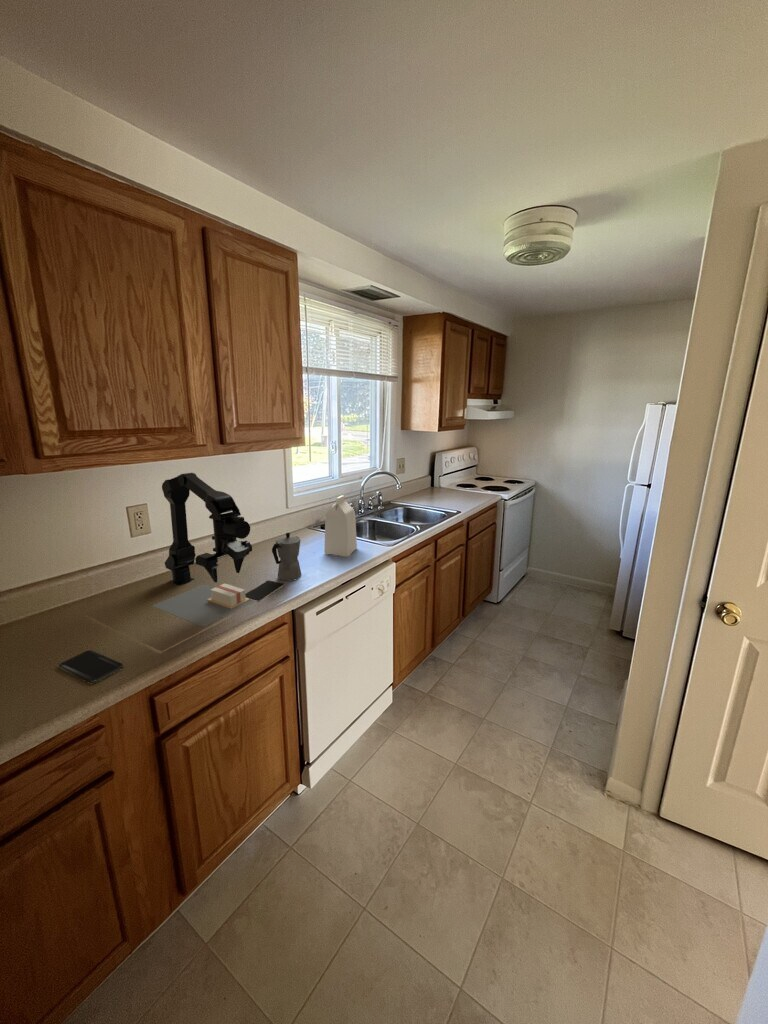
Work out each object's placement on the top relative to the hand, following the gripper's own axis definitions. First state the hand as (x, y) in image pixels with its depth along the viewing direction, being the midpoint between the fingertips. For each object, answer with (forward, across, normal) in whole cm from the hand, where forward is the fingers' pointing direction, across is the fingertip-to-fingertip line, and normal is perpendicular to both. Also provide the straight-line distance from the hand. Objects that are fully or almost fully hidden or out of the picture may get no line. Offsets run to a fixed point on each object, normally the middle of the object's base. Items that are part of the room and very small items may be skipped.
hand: (227, 577), depth 139 cm
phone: (+10, -43, 0) cm, 44 cm away
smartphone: (+10, +12, -4) cm, 16 cm away
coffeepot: (+9, +26, -3) cm, 28 cm away
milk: (+9, +62, -3) cm, 63 cm away
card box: (+8, 0, 0) cm, 8 cm away
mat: (+9, -6, +5) cm, 12 cm away
